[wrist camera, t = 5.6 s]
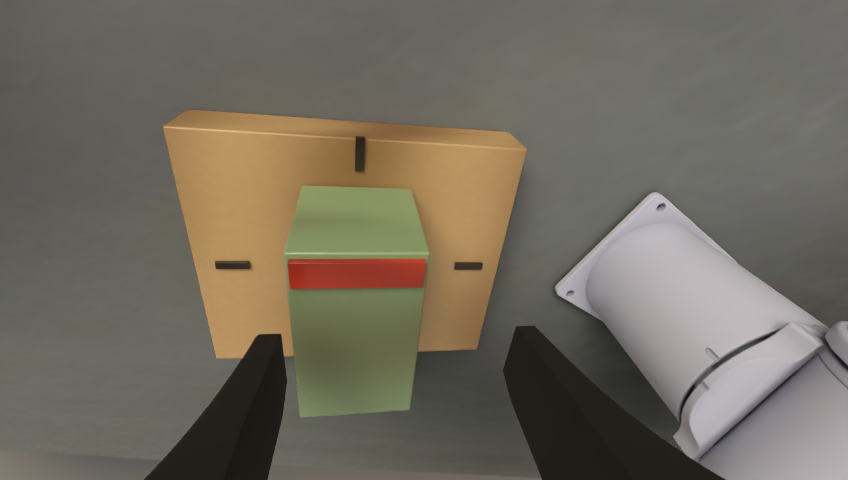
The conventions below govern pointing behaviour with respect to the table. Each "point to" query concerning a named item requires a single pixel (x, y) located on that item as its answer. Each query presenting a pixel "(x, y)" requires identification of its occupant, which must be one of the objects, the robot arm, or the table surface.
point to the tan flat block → (342, 167)
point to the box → (355, 298)
